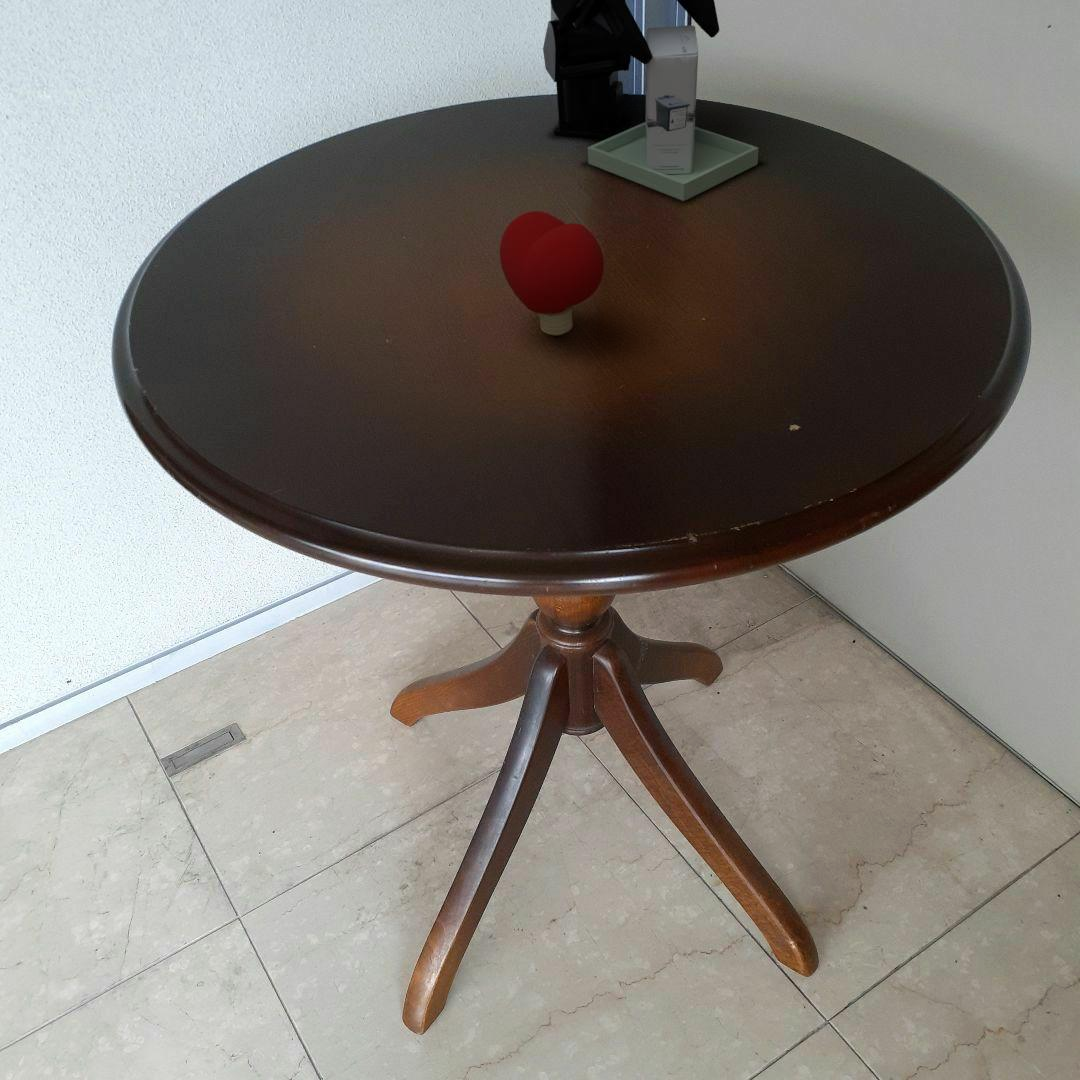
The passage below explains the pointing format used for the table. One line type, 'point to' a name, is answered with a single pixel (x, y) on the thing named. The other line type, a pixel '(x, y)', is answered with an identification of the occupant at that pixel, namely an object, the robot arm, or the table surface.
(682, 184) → the tray
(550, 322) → the red heart on stand
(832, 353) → the table surface
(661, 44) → the ink box
